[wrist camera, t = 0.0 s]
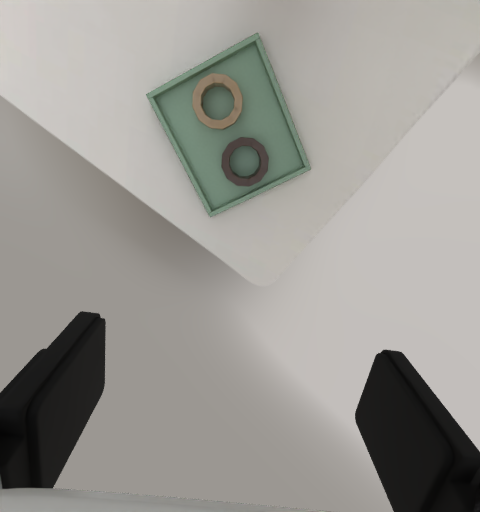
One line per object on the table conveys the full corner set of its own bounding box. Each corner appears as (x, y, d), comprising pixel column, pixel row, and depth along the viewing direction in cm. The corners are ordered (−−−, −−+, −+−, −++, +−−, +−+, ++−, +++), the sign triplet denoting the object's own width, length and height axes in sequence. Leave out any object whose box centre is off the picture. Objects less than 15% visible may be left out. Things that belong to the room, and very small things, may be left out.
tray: (150, 96, 42) (145, 94, 40) (256, 37, 39) (257, 32, 37) (211, 214, 47) (210, 217, 45) (307, 167, 45) (311, 169, 43)
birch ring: (187, 92, 41) (183, 88, 38) (229, 69, 40) (228, 63, 37) (208, 137, 43) (206, 137, 40) (249, 116, 42) (250, 114, 39)
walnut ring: (214, 150, 43) (213, 150, 41) (255, 129, 43) (256, 129, 40) (234, 190, 45) (234, 193, 42) (273, 171, 44) (275, 173, 42)
